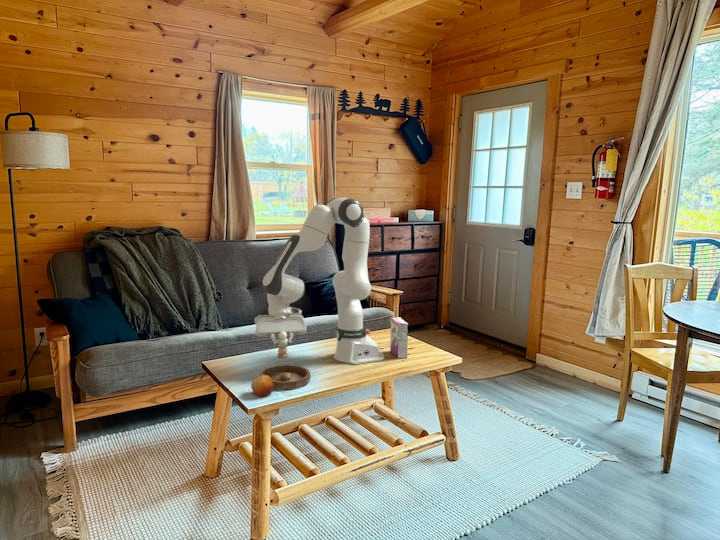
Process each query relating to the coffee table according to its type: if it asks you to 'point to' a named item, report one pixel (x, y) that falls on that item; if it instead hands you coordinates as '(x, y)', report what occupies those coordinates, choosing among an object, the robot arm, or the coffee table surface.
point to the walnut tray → (295, 376)
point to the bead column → (282, 345)
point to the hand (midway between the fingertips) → (282, 344)
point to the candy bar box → (399, 337)
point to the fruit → (262, 386)
